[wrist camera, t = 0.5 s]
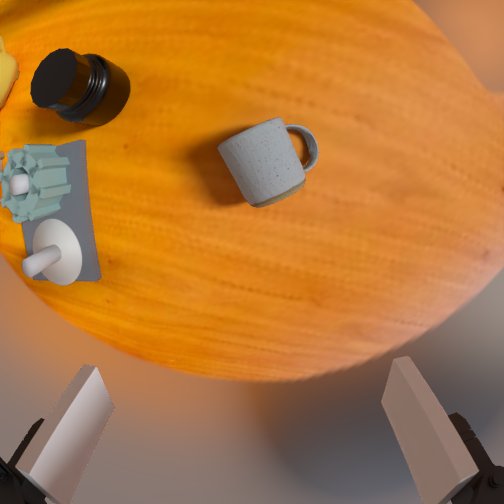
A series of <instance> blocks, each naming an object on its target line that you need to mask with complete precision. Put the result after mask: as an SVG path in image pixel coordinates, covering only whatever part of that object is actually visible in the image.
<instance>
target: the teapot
mask: <svg viewBox="0 0 504 504" xmlns="http://www.w3.org/2000/svg"><path fill="white" fill-rule="evenodd" d="M19 73H20V72H19V71H18V63H17V61H16V59H15V58H14V57H13V56H11V55H10V54H8V53H6V50H5V45H4V41H3V39H2V37H1V36H0V109H1V108H3V107H4V106H5V104H6V98H7V96H8V95H9V92H10V90H11V88H12V86H13V83H14V81H16V80H17V79H18V77H19Z"/></svg>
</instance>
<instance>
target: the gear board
mask: <svg viewBox="0 0 504 504" xmlns="http://www.w3.org/2000/svg"><path fill="white" fill-rule="evenodd" d="M7 156H8V162H7V164H6V167H5V169H4V171H2V172H0V181H1V182H2V192H3V198H2V199H1V200H0V202H1V204H2V207H3V208H4V207H8V208H9V210H10V211H11V212H12V214H13V221H14V222H16V223H20V222H22V227H23V233H24V239H25V244H26V249H27V254H28V258H26V259H24V260H23V261H22V269H23V272H24V274H25V275H26V276H27V277H30V278H31V277H33V280H50V281H51V282H53V283H55V284H57V285H69V284H71V283H72V282H74V281H98V280H99V279H100V278H102V276H101V271H100V266H99V261H98V256H97V250H96V244H95V238H94V231H93V225H92V217H91V209H90V200H89V190H88V178H87V163H86V140H77V141H74V142H70V143H66V144H63V145H59V146H55V145H52V144H24V148H23V149H11V150H10V151H9V153H8V154H7Z"/></svg>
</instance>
